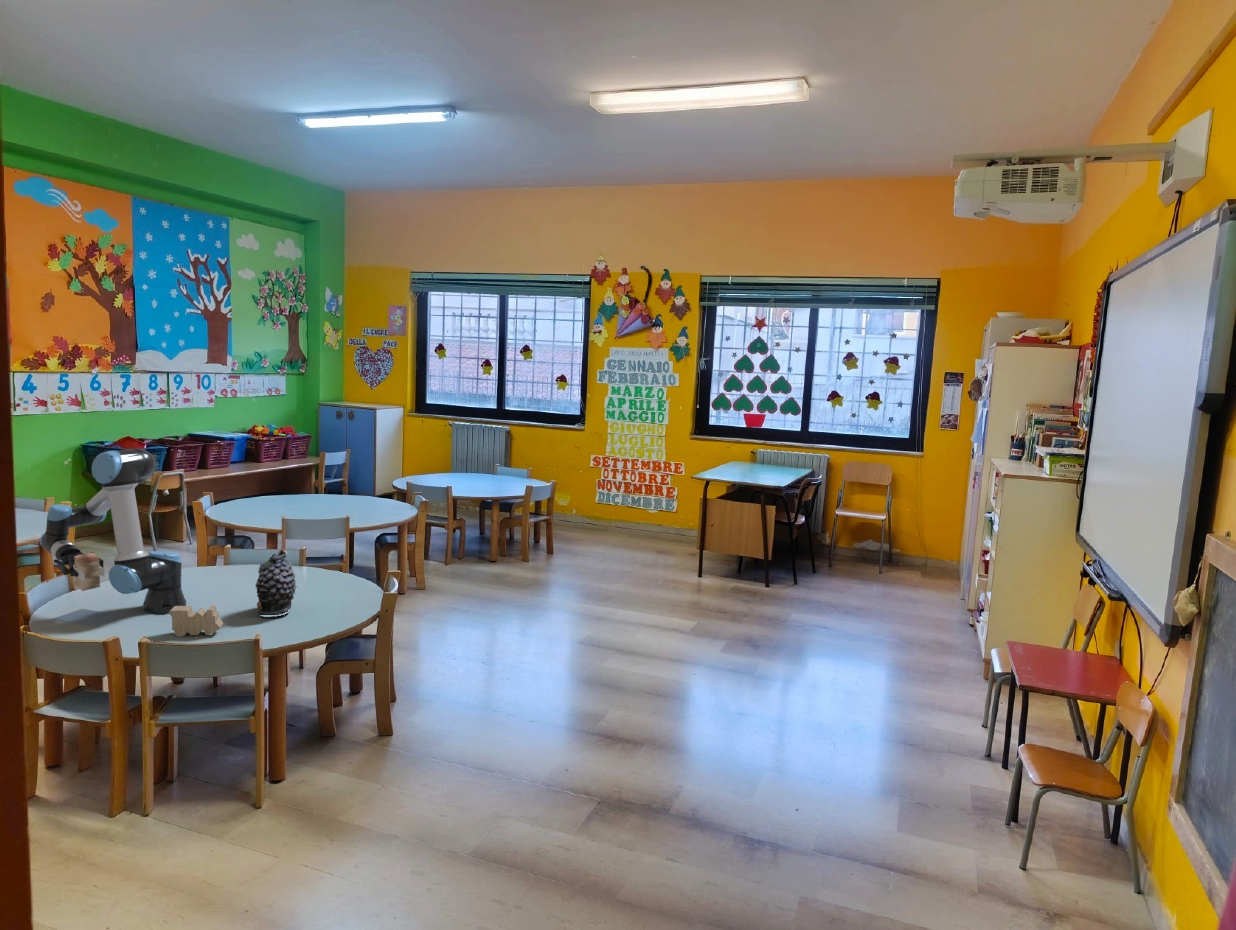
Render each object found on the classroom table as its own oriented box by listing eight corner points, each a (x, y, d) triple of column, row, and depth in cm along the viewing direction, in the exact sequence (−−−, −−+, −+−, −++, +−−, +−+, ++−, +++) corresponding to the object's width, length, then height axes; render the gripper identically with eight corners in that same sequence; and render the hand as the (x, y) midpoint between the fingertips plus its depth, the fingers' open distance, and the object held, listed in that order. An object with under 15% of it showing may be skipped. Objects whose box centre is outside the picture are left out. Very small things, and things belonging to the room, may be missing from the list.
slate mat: (126, 616, 311) (126, 615, 311) (96, 627, 297) (96, 626, 297) (81, 609, 314) (81, 608, 314) (50, 620, 301) (50, 619, 301)
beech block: (92, 580, 309) (92, 552, 306) (100, 586, 306) (99, 558, 303) (75, 585, 305) (74, 556, 301) (82, 591, 302) (81, 562, 298)
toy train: (219, 636, 297) (219, 609, 296) (168, 636, 293) (168, 610, 292) (223, 631, 302) (223, 605, 301) (173, 631, 298) (173, 605, 297)
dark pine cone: (260, 604, 335) (260, 545, 332) (298, 604, 339) (299, 545, 336) (250, 620, 315) (251, 558, 312) (291, 620, 319) (292, 558, 316)
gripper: (93, 556, 322) (120, 577, 310) (38, 567, 306) (65, 591, 294) (93, 538, 319) (120, 560, 307) (37, 549, 304) (64, 572, 292)
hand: (93, 575), depth 301 cm, fingers closed on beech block, 6 cm apart
